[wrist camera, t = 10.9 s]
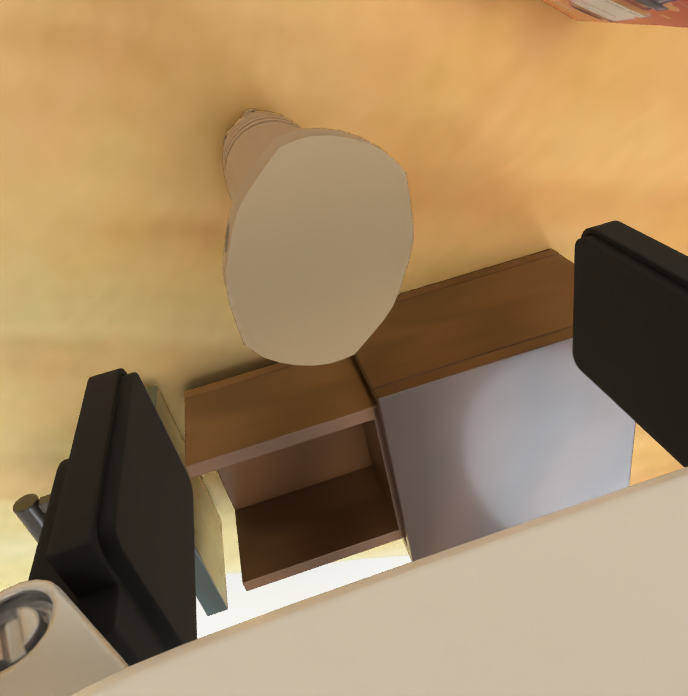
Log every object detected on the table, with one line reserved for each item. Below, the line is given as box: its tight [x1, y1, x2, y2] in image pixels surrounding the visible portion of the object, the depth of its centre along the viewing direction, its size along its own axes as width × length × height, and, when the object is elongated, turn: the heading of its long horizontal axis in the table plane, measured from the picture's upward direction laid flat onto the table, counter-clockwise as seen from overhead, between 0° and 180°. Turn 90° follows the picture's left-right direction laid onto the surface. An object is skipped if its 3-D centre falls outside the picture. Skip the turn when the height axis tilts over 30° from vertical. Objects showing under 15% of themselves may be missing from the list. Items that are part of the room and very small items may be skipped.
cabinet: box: [354, 249, 636, 562], centre depth 34 cm, size 14×13×9 cm
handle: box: [223, 109, 413, 366], centre depth 22 cm, size 5×6×15 cm
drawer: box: [13, 355, 405, 616], centre depth 33 cm, size 19×11×7 cm, turn 102°
